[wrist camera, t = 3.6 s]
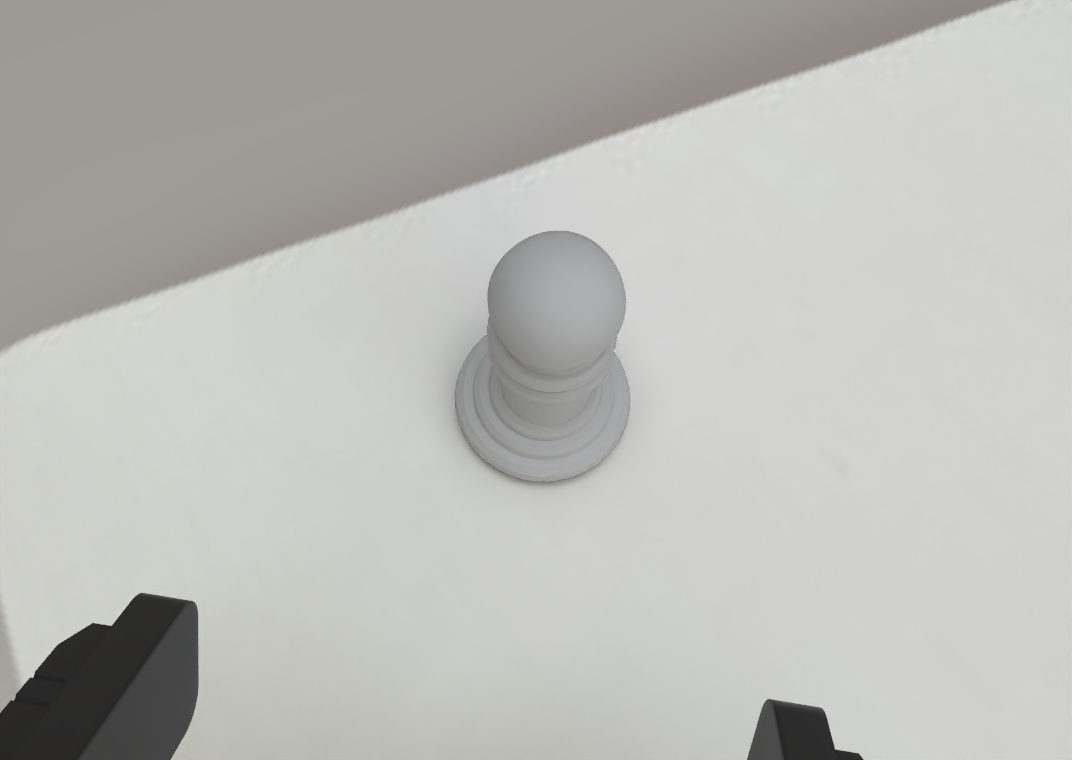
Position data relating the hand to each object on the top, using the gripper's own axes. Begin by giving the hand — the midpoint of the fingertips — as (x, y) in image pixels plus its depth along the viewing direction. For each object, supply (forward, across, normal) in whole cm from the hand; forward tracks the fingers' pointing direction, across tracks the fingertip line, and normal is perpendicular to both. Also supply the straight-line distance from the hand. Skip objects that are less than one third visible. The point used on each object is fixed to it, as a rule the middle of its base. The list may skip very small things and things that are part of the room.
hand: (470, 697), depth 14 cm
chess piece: (+17, 0, +3) cm, 17 cm away
